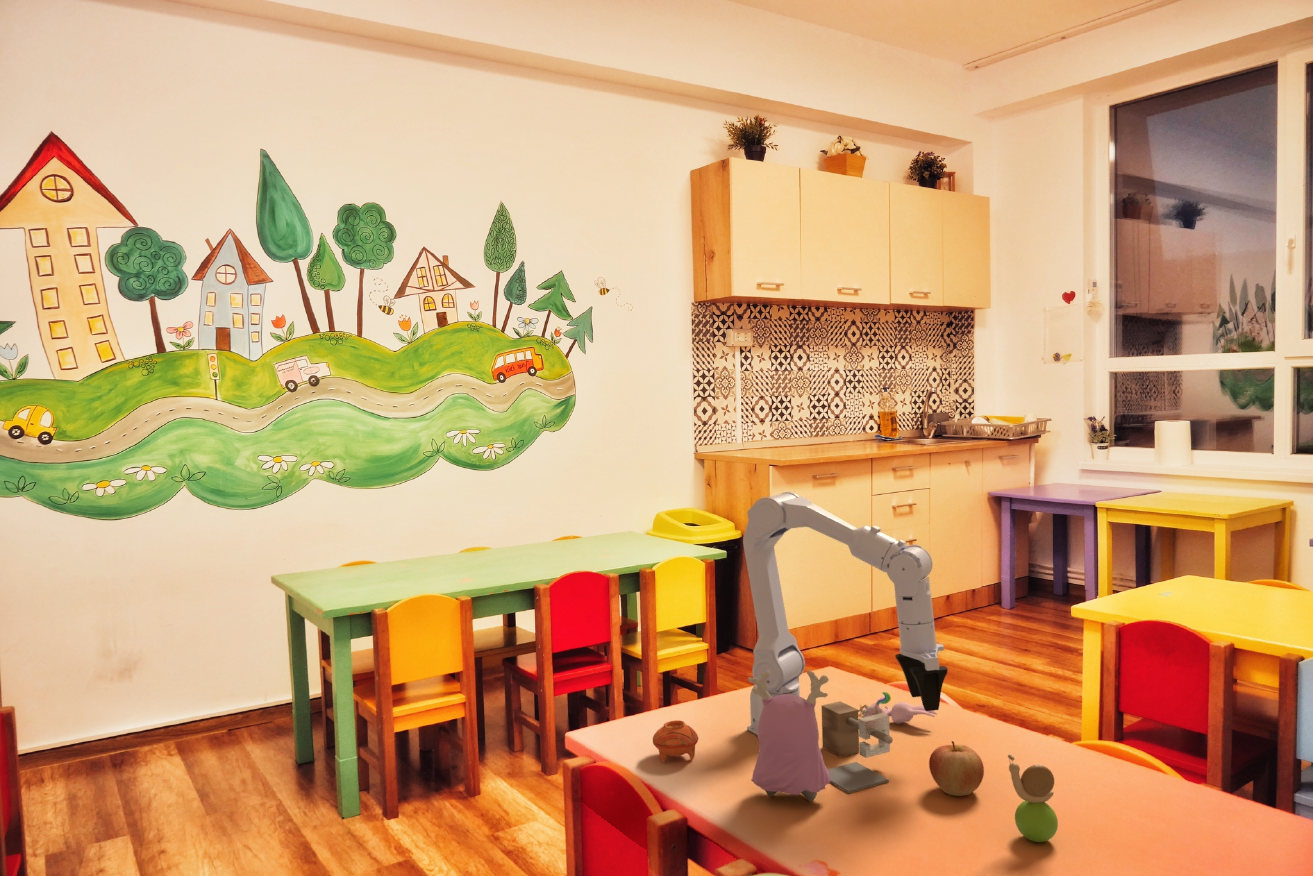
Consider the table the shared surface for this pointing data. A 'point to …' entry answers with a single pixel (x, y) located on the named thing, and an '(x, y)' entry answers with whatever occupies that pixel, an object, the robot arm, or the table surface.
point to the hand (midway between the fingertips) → (924, 703)
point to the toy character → (789, 742)
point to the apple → (956, 769)
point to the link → (871, 725)
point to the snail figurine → (1034, 802)
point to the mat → (855, 777)
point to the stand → (843, 729)
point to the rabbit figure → (895, 710)
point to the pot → (675, 740)
